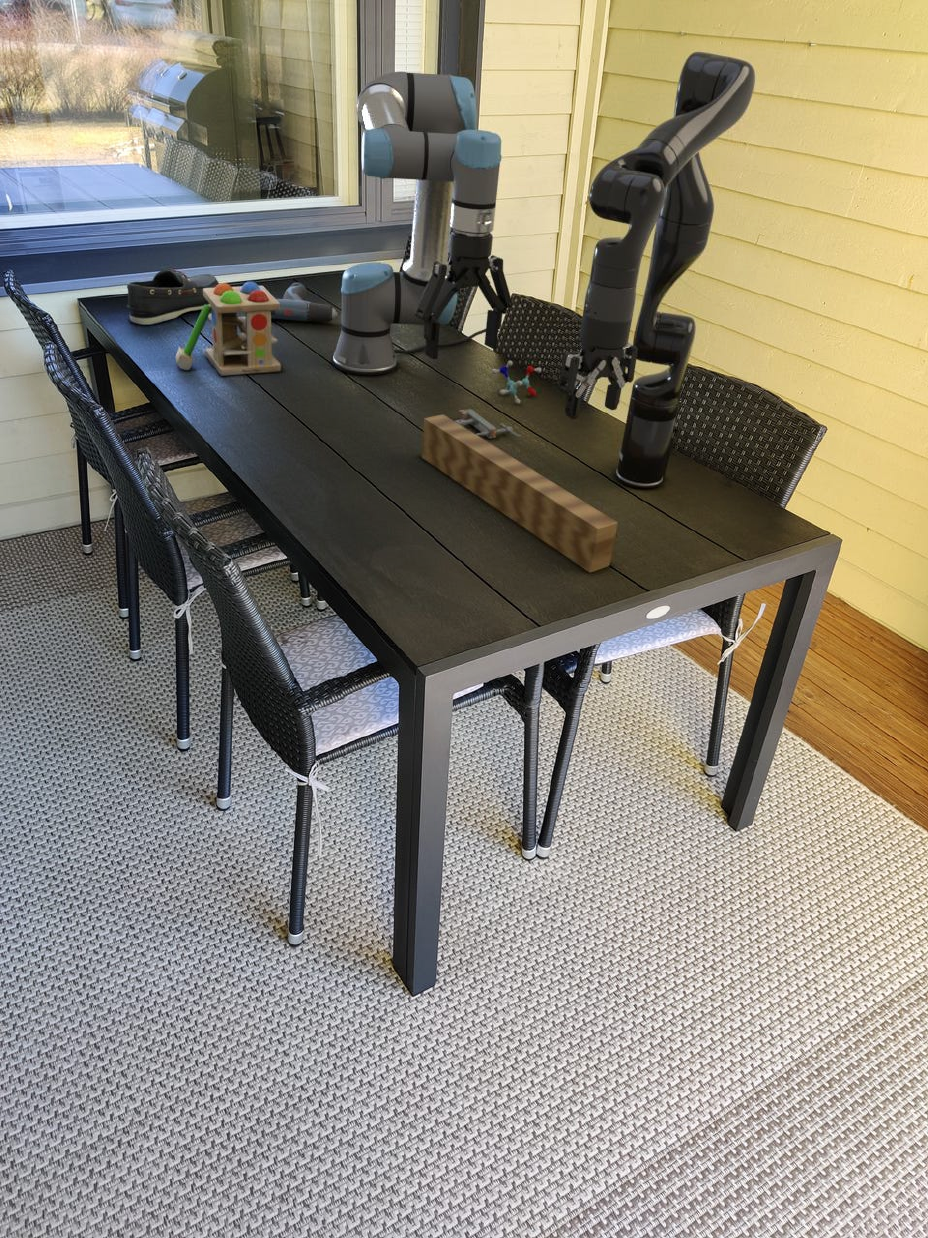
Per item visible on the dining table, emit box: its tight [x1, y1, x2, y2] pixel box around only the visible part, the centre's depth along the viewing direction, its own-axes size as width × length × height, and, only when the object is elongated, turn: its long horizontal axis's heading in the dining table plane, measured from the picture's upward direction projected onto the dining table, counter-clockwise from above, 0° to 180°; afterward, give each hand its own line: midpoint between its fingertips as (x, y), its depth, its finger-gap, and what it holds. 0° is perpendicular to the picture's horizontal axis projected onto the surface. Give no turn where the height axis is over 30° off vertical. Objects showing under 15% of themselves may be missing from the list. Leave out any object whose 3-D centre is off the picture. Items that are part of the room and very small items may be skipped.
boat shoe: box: [126, 268, 220, 325], centre depth 258 cm, size 13×33×10 cm, turn 147°
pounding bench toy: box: [174, 281, 282, 377], centre depth 225 cm, size 23×14×18 cm, turn 116°
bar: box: [421, 414, 619, 574], centre depth 180 cm, size 50×5×8 cm, turn 37°
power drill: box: [271, 282, 338, 322], centre depth 265 cm, size 5×19×20 cm
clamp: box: [454, 408, 522, 440], centre depth 210 cm, size 15×2×10 cm
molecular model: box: [491, 360, 542, 405], centre depth 227 cm, size 12×10×10 cm
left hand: (461, 351), depth 181 cm, fingers open, 13 cm apart
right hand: (591, 412), depth 158 cm, fingers open, 8 cm apart
